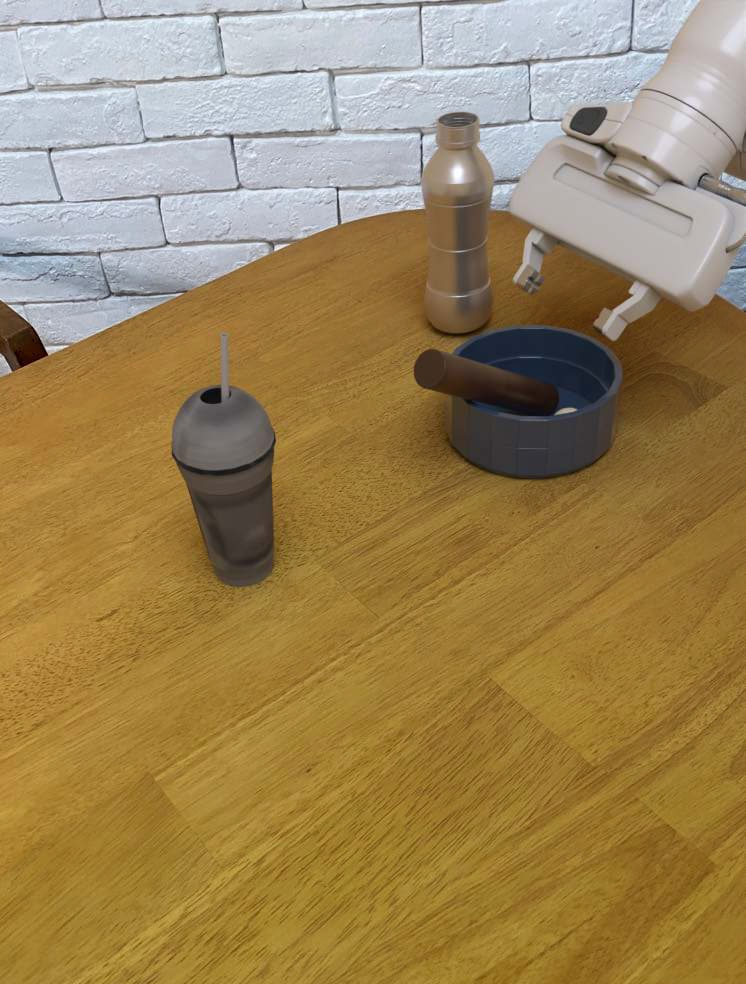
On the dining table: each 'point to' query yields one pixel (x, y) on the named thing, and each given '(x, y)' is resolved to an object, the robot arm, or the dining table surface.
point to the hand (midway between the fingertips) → (561, 311)
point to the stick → (484, 383)
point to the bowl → (539, 439)
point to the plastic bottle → (458, 226)
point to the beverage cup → (229, 476)
